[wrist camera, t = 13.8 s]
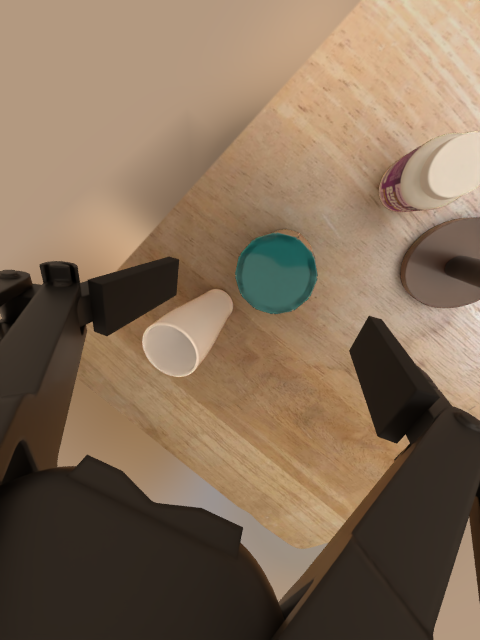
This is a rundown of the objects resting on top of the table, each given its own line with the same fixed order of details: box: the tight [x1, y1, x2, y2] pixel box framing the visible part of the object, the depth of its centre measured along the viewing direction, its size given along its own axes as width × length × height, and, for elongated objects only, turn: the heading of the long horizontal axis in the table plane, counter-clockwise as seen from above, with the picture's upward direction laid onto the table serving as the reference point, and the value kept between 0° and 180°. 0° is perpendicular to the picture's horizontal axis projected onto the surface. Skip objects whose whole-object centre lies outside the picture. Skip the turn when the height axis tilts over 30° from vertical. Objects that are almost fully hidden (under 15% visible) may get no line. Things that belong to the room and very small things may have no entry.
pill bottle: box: [379, 131, 480, 212], centre depth 20 cm, size 5×5×10 cm
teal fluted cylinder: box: [235, 229, 318, 314], centre depth 26 cm, size 8×8×10 cm
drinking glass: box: [142, 289, 233, 377], centre depth 29 cm, size 7×7×15 cm
